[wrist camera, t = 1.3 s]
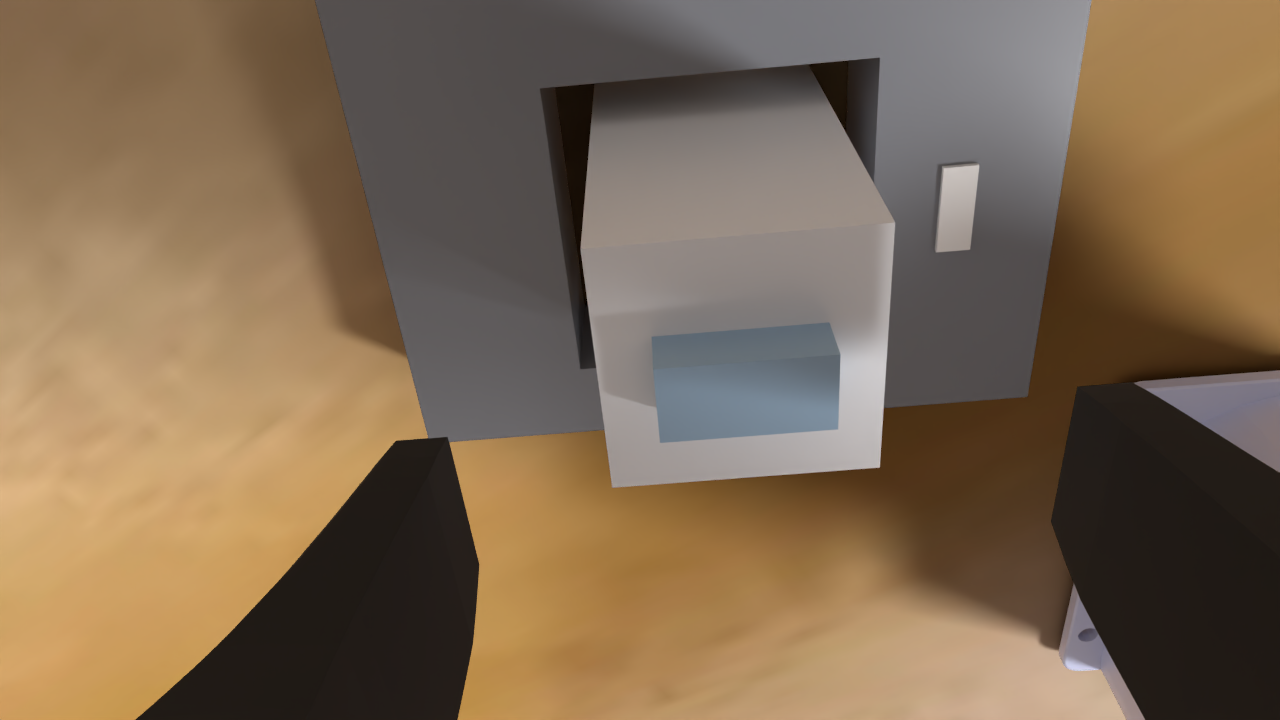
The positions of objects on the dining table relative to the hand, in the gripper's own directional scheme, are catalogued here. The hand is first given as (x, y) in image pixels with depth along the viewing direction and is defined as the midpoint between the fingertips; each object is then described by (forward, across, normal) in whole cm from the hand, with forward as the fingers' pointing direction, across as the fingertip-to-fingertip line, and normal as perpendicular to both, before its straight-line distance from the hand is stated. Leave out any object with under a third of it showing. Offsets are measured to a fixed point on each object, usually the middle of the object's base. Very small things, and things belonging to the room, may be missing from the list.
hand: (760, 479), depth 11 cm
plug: (+9, 0, 0) cm, 9 cm away
